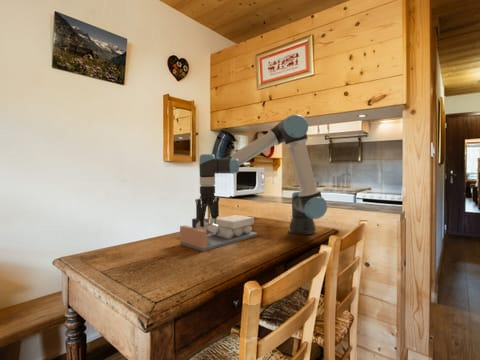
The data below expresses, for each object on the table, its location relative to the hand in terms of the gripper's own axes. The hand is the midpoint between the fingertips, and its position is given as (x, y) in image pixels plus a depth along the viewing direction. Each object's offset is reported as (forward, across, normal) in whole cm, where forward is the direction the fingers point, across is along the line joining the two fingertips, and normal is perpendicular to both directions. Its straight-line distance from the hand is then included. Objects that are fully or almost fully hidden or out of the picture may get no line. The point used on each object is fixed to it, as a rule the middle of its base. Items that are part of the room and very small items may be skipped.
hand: (208, 232), depth 134 cm
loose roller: (0, 0, 0) cm, 0 cm away
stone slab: (-1, -19, 0) cm, 19 cm away
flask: (+6, -9, -18) cm, 21 cm away
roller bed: (+5, -10, 0) cm, 11 cm away
